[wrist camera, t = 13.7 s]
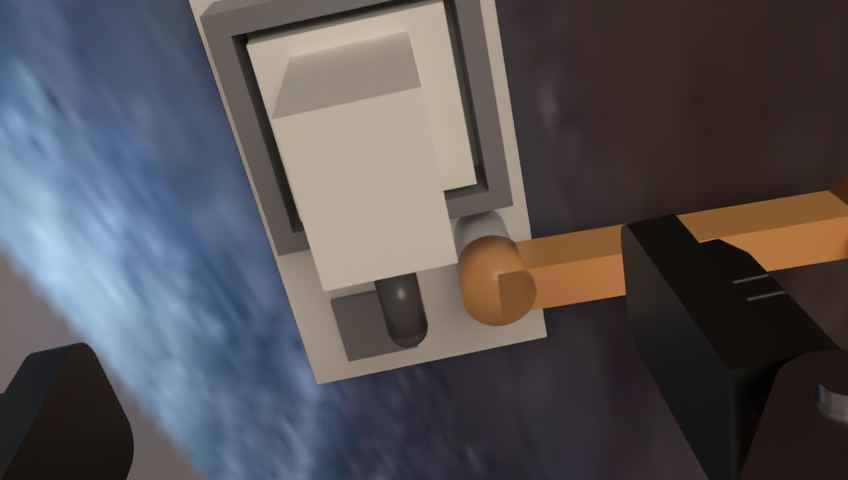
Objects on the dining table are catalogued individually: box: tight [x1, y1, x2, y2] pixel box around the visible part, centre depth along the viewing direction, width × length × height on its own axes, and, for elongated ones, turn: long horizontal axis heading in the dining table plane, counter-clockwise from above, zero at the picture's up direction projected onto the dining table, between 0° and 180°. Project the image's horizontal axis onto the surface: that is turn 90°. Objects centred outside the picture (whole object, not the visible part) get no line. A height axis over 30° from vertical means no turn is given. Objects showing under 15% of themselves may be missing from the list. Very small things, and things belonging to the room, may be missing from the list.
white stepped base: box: [189, 0, 547, 385], centre depth 24 cm, size 15×8×4 cm, turn 11°
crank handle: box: [456, 177, 848, 326], centre depth 20 cm, size 14×2×7 cm, turn 98°
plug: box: [246, 0, 477, 348], centre depth 20 cm, size 7×5×7 cm
